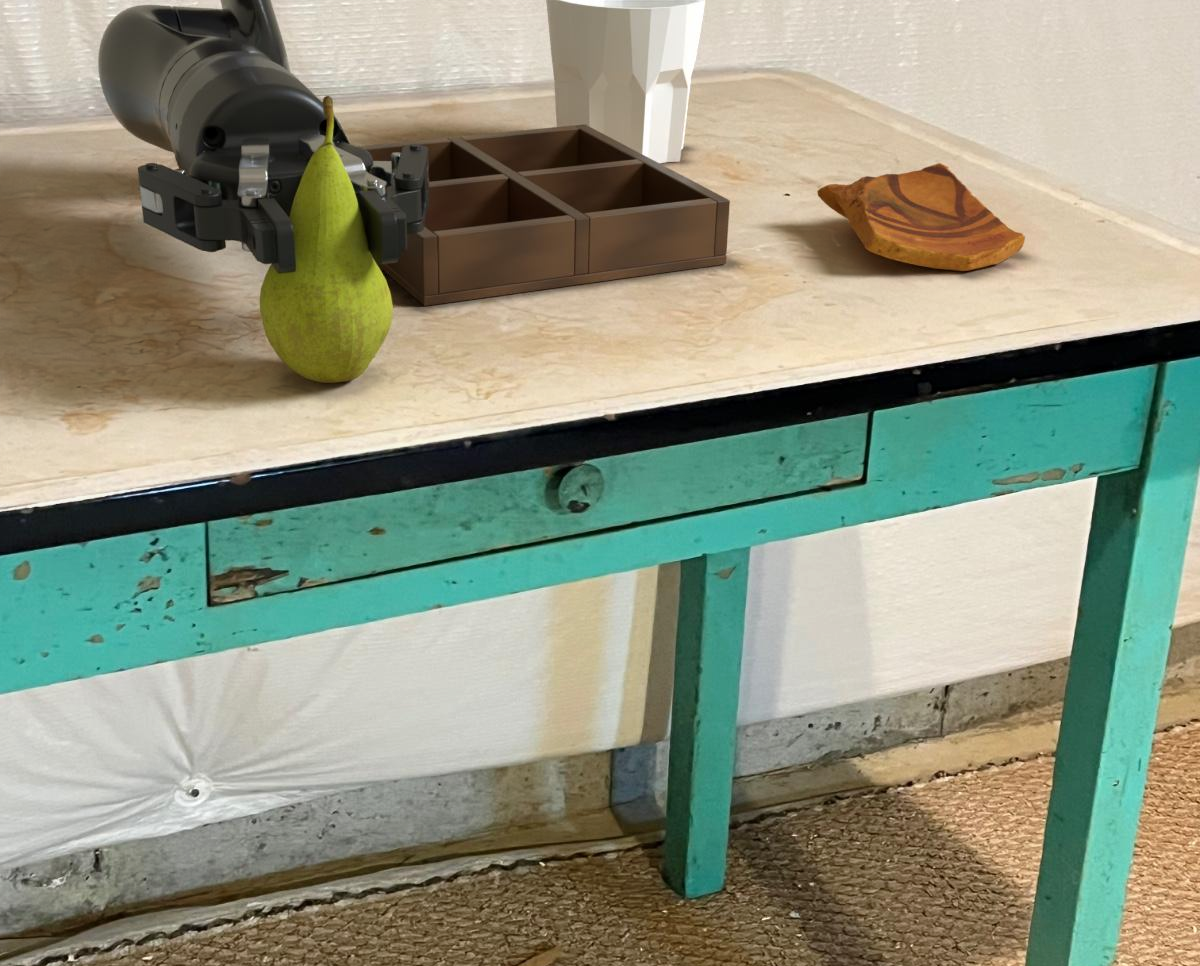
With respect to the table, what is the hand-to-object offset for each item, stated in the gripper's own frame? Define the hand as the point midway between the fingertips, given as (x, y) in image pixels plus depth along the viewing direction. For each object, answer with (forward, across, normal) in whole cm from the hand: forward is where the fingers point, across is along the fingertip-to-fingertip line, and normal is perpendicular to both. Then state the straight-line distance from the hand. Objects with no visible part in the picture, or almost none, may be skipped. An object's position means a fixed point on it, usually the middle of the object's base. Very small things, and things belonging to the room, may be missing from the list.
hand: (338, 244), depth 70 cm
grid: (-20, +14, +7) cm, 26 cm away
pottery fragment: (-12, +35, +7) cm, 38 cm away
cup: (-35, +27, +7) cm, 45 cm away
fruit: (-3, 0, +7) cm, 8 cm away
